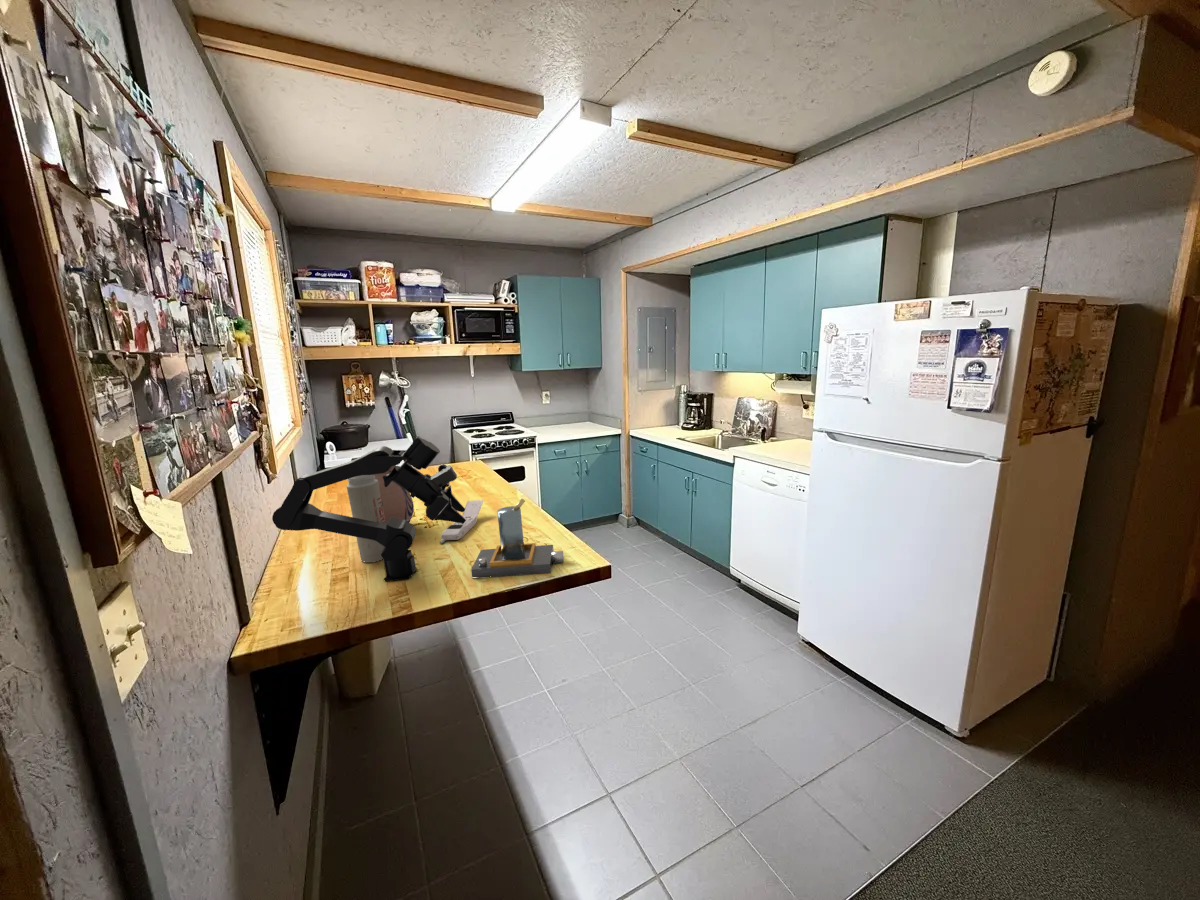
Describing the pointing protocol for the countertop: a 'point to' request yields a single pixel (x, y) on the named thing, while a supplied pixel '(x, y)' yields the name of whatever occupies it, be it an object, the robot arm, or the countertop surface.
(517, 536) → the spout can
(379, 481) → the ceramic pitcher
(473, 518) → the mobile phone
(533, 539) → the countertop surface
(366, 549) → the thermos bottle
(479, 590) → the countertop surface
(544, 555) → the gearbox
